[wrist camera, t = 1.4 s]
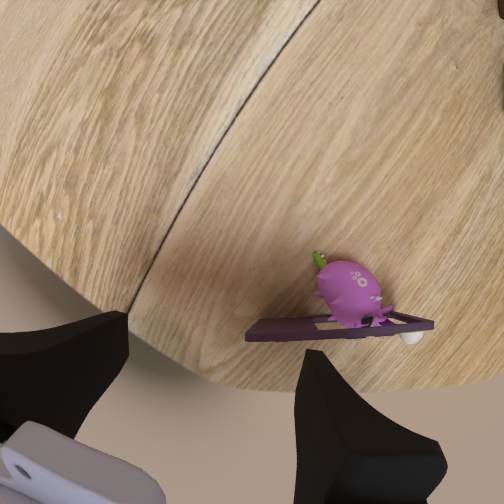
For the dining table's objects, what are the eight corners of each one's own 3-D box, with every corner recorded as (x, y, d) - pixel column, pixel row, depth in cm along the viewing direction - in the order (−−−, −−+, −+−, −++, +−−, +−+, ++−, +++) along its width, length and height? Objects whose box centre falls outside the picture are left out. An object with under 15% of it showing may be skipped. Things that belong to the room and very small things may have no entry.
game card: (245, 357, 14) (435, 344, 13) (241, 242, 15) (431, 234, 14) (260, 335, 21) (394, 328, 20) (257, 256, 21) (392, 249, 20)
